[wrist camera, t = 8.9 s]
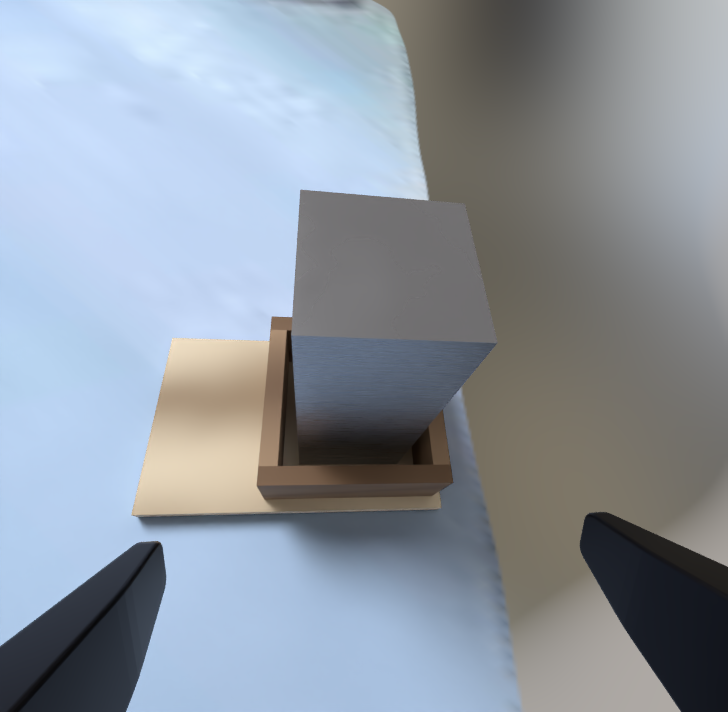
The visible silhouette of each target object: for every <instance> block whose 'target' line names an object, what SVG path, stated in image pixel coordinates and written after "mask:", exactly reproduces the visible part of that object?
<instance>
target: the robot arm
mask: <svg viewBox="0 0 728 712" xmlns="http://www.w3.org/2000/svg"><path fill="white" fill-rule="evenodd" d="M580 550H581V553H582V555H583V558H584V559H585V561H586V563H587V564H588V566H589V568H590V569H591V572H592V573H593V575H594V577H595V578H596V580H597V582H598V584H599V585H600V587H601V589H602V591H603V592H604V594H605V596H606V598H607V599H608V601H609V603H610V605H611V606H612V608H613V610H614V612H615V613H616V615H617V617H618V618H619V620H620V622H621V623H622V625H623V627H624V628H625V630H626V631H627V633H628V634H629V636H630V637H631V639H632V640H633V642H634V643H635V645H636V646H637V648H638V649H639V651H640V652H641V653H642V655H643V656H644V658H645V659H646V661H647V662H648V664H649V665H650V667H651V668H652V670H653V671H654V673H655V674H656V676H657V677H658V679H659V680H660V681H661V683H662V684H663V686H664V687H665V689H666V690H667V692H668V693H669V695H670V696H671V698H672V699H673V700H674V702H675V704H676V705H677V706H678V708H679V709H680V711H681V712H728V567H727V566H725V565H722V564H720V563H718V562H716V561H714V560H711V559H709V558H707V557H705V556H702V555H700V554H698V553H696V552H694V551H691V550H689V549H687V548H685V547H683V546H681V545H678V544H676V543H674V542H672V541H670V540H667V539H665V538H663V537H661V536H658V535H656V534H654V533H652V532H650V531H647V530H645V529H643V528H641V527H639V526H636V525H634V524H632V523H630V522H627V521H625V520H623V519H621V518H619V517H617V516H614V515H612V514H610V513H607V512H595V513H589V514H588V515H586V517H585V520H584V525H583V530H582V535H581V540H580ZM165 585H166V570H165V562H164V554H163V547H162V545H161V543H160V542H158V541H151V542H139V543H136V544H135V545H133V546H132V547H131V548H129V549H128V550H127V551H125V552H124V553H123V554H121V555H120V556H119V557H118V558H116V559H115V560H114V561H112V562H111V563H110V564H108V565H107V566H106V567H104V568H103V569H102V570H100V571H99V572H98V573H96V574H95V575H94V576H92V577H91V578H90V579H88V580H87V581H86V582H85V583H83V584H82V585H81V586H79V587H78V588H77V589H75V590H74V591H73V592H71V593H70V594H69V595H67V596H66V597H65V598H63V599H62V600H61V601H59V602H58V603H57V604H55V605H54V606H53V607H52V608H50V609H49V610H48V611H46V612H45V613H44V614H42V615H41V616H40V617H38V618H37V619H36V620H34V621H33V622H32V623H30V624H29V625H28V626H26V627H25V628H24V629H22V630H21V631H20V632H19V633H17V634H16V635H15V636H13V637H12V638H11V639H9V640H8V641H7V642H5V643H4V644H3V645H1V646H0V712H126V710H127V708H128V705H129V703H130V700H131V698H132V695H133V692H134V690H135V687H136V684H137V681H138V679H139V676H140V672H141V669H142V666H143V663H144V659H145V656H146V652H147V649H148V645H149V642H150V638H151V635H152V632H153V628H154V625H155V621H156V618H157V614H158V611H159V607H160V604H161V600H162V597H163V593H164V590H165Z"/></svg>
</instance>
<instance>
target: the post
mask: <svg viewBox="0 0 728 712" xmlns="http://www.w3.org/2000/svg"><path fill="white" fill-rule="evenodd" d="M291 339H292V355H293V371H294V387H295V403H296V419H297V435H298V451H299V464H397V463H398V462H399V461H400V460H401V459H402V457H403V456H404V455H405V454H406V453H407V451H408V450H409V449H410V448H411V447H412V445H413V444H414V443H415V442H416V441H417V439H418V438H419V437H420V436H421V435H422V433H423V432H424V431H425V430H426V428H427V427H428V426H429V425H430V424H431V422H432V421H433V420H434V419H435V418H436V416H437V415H438V414H439V413H440V412H441V410H442V409H443V408H444V407H445V406H446V404H447V403H448V402H449V401H450V400H451V398H452V397H453V396H454V395H455V394H456V392H457V391H458V390H459V389H460V388H461V386H462V385H463V384H464V383H465V382H466V380H467V379H468V378H469V377H470V376H471V374H472V373H473V372H474V371H475V369H476V368H477V367H478V366H479V365H480V363H481V362H482V361H483V360H484V359H485V357H486V356H487V355H488V354H489V353H490V351H491V350H492V349H493V348H494V347H495V345H496V344H497V339H496V335H495V330H494V326H493V322H492V318H491V313H490V309H489V305H488V301H487V296H486V292H485V288H484V284H483V280H482V275H481V271H480V267H479V262H478V259H477V254H476V250H475V246H474V241H473V237H472V233H471V229H470V224H469V220H468V216H467V212H466V207H465V204H462V203H450V202H438V201H427V200H415V199H403V198H391V197H379V196H368V195H356V194H344V193H332V192H321V191H309V190H300V205H299V221H298V237H297V253H296V269H295V284H294V300H293V316H292V332H291Z"/></svg>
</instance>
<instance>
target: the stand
mask: <svg viewBox="0 0 728 712" xmlns="http://www.w3.org/2000/svg"><path fill="white" fill-rule="evenodd" d="M291 332H292V317H272V320H271V331H270V341H250V340H219V339H188V338H172V343H171V347H170V351H169V355H168V360H167V364H166V368H165V373H164V377H163V381H162V386H161V390H160V394H159V398H158V403H157V407H156V411H155V416H154V420H153V424H152V429H151V433H150V437H149V442H148V446H147V450H146V454H145V459H144V463H143V467H142V472H141V476H140V480H139V485H138V489H137V493H136V498H135V502H134V506H133V510H132V515H133V516H136V517H156V516H197V515H237V514H277V513H317V512H358V511H398V510H438V509H440V508H442V507H441V499H440V491H441V490H442V489H444V488H445V487H447V486H449V485H450V484H452V483H453V478H452V471H451V464H450V457H449V450H448V444H447V437H446V430H445V423H444V416H443V409H442V410H441V412H440V413H439V414H438V415H437V416H436V418H435V419H434V420H433V421H432V422H431V424H430V425H429V426H428V427H427V428H426V430H425V431H424V432H423V433H422V435H421V436H420V437H419V438H418V439H417V441H416V442H415V443H414V444H413V445H412V447H411V448H410V449H409V450H408V451H407V453H406V454H405V455H404V456H403V457H402V459H401V460H400V461H399V462H398V463H397V464H299V451H298V435H297V419H296V403H295V387H294V371H293V355H292V339H291Z"/></svg>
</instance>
